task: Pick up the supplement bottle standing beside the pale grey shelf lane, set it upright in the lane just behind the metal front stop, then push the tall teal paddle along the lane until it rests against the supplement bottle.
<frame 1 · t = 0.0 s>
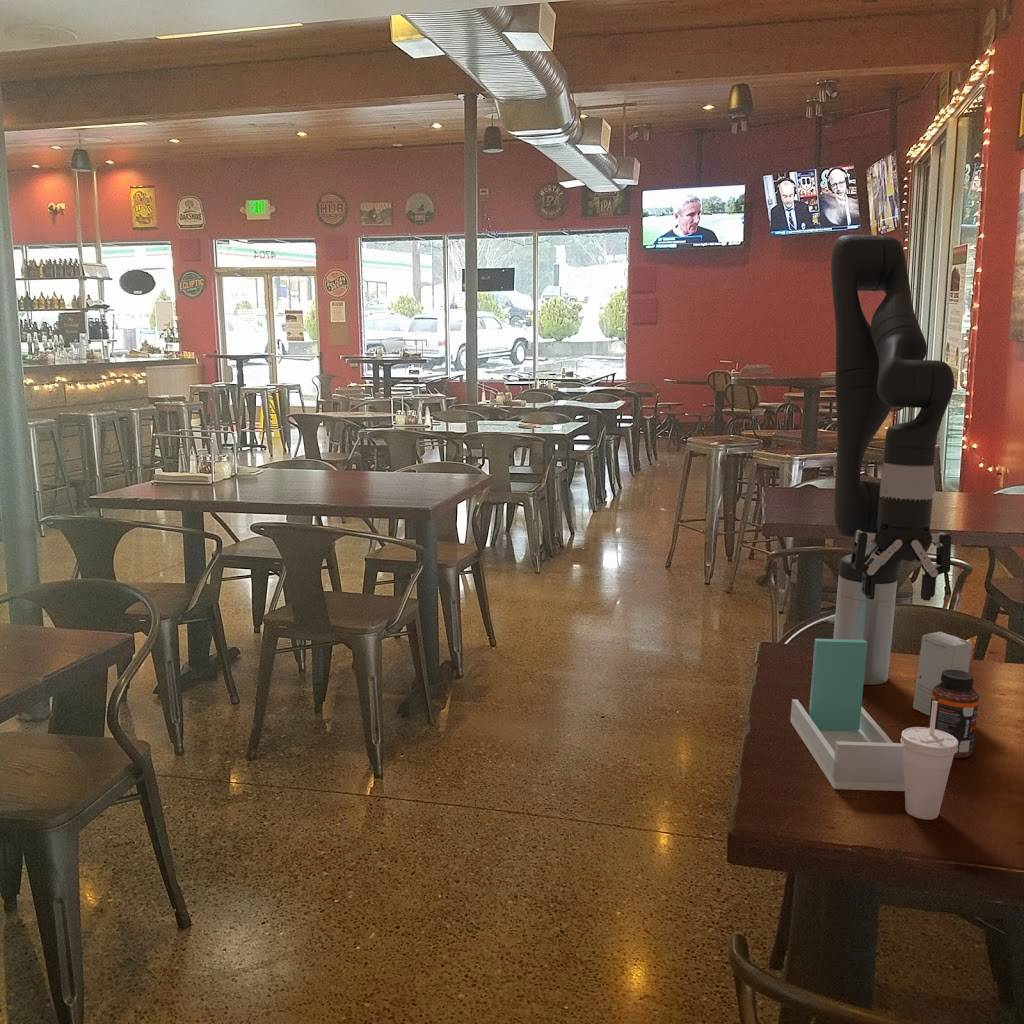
hand: (897, 599, 152), 17 cm above the table, tool pointing down, fingers open, 8 cm apart
supplement bottle: (949, 752, 139), on the table
lane: (845, 753, 137), on the table
smoothie: (921, 813, 121), on the table
pusher: (837, 684, 141), point 8 cm above the table, slide at 0.0 cm
skincare box: (937, 715, 152), on the table
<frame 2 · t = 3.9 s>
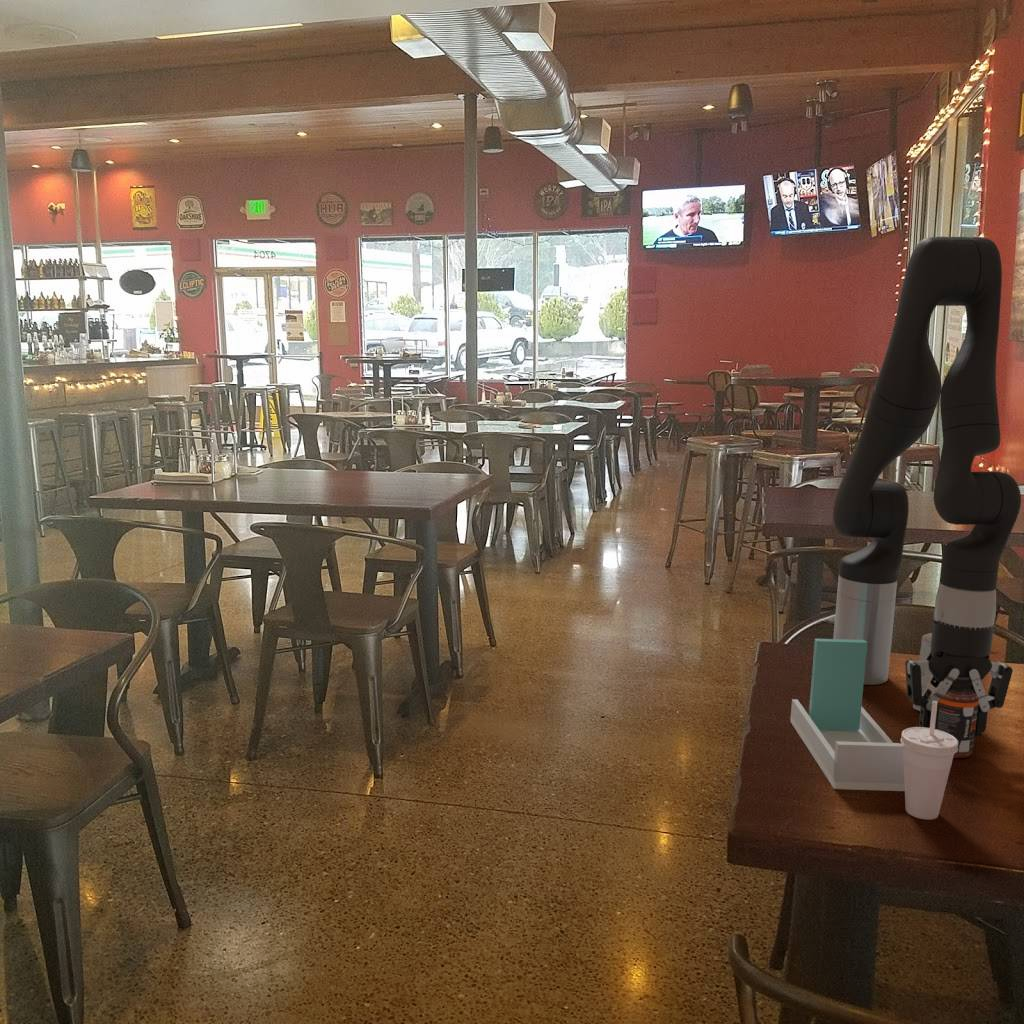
hand: (951, 733, 138), 3 cm above the table, tool pointing down, fingers closed on supplement bottle, 6 cm apart
supplement bottle: (949, 752, 139), on the table, touching gripper
everything else where it was.
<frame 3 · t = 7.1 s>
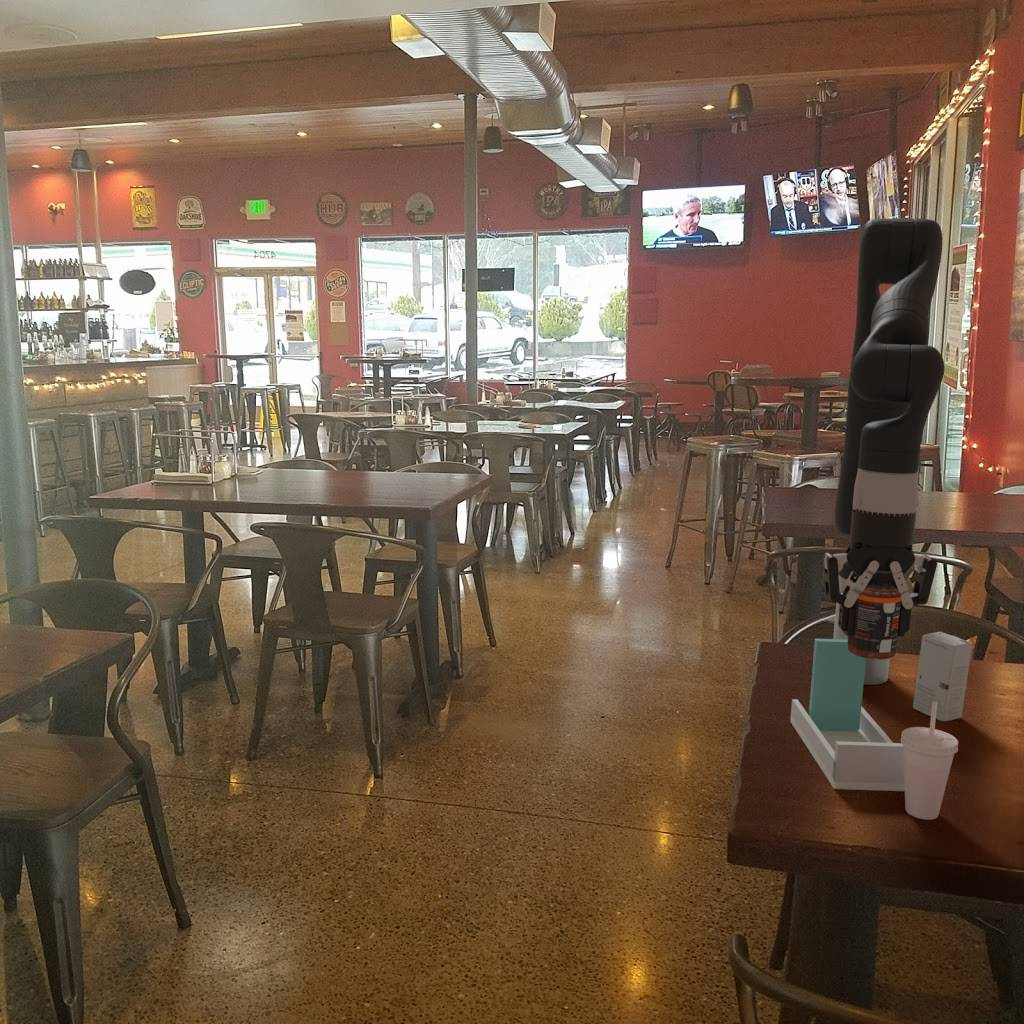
hand: (872, 633, 128), 19 cm above the table, tool pointing down, fingers closed on supplement bottle, 6 cm apart
supplement bottle: (870, 655, 128), point 16 cm above the table, touching gripper
everything else where it was.
when the fingers open (5 cm above the table, at t = 10.5 s): supplement bottle drops 1 cm, resting on lane.
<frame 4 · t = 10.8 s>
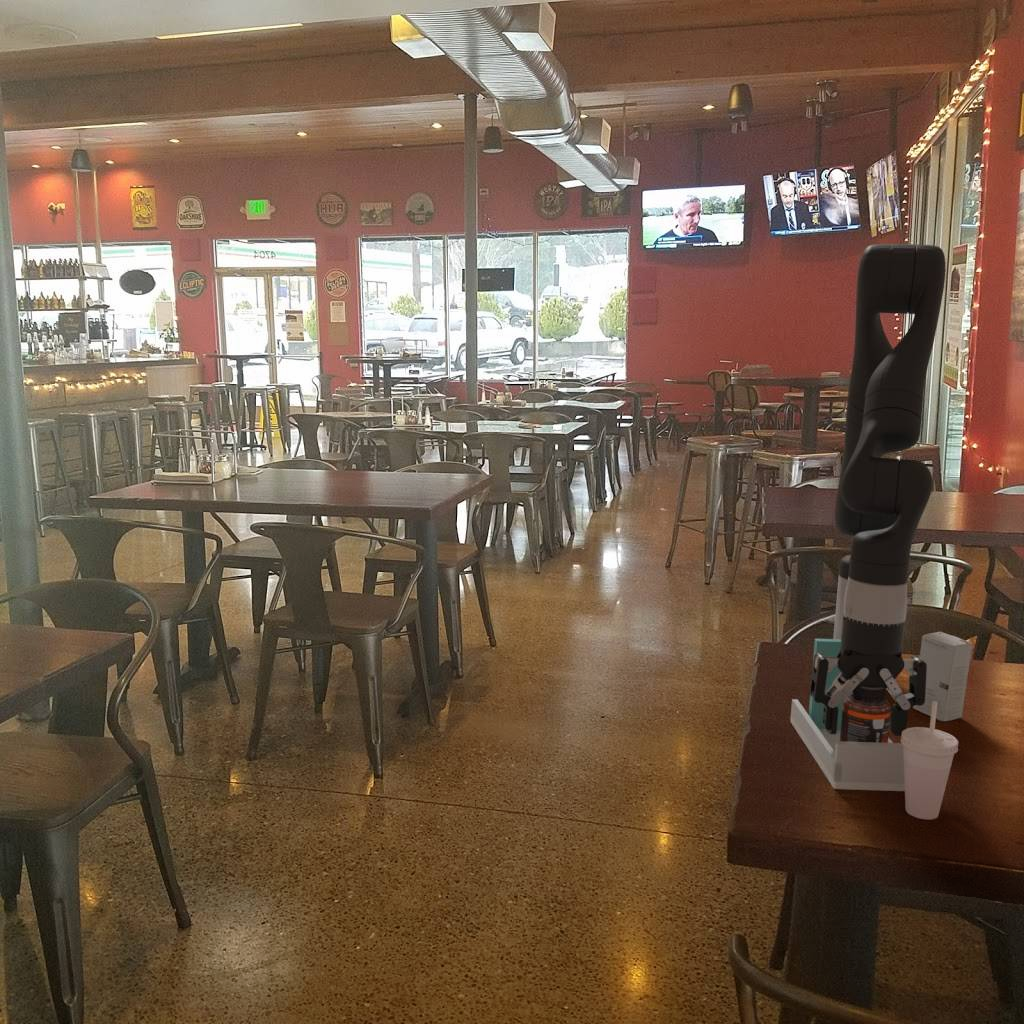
hand: (863, 733, 130), 6 cm above the table, tool pointing down, fingers open, 8 cm apart
supplement bottle: (861, 766, 131), point 1 cm above the table, touching lane
everything else where it was.
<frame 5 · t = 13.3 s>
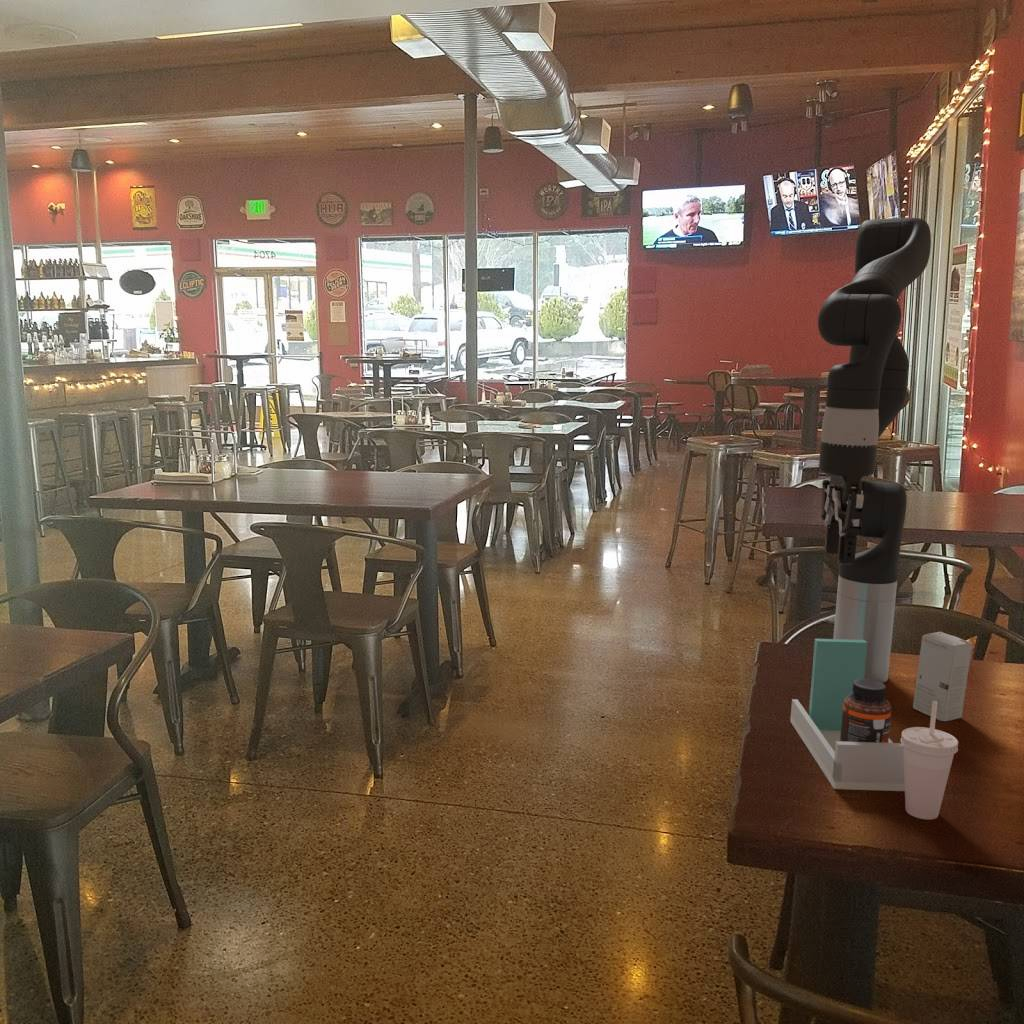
hand: (839, 557, 142), 25 cm above the table, tool pointing down, fingers open, 5 cm apart
nothing on the table moved.
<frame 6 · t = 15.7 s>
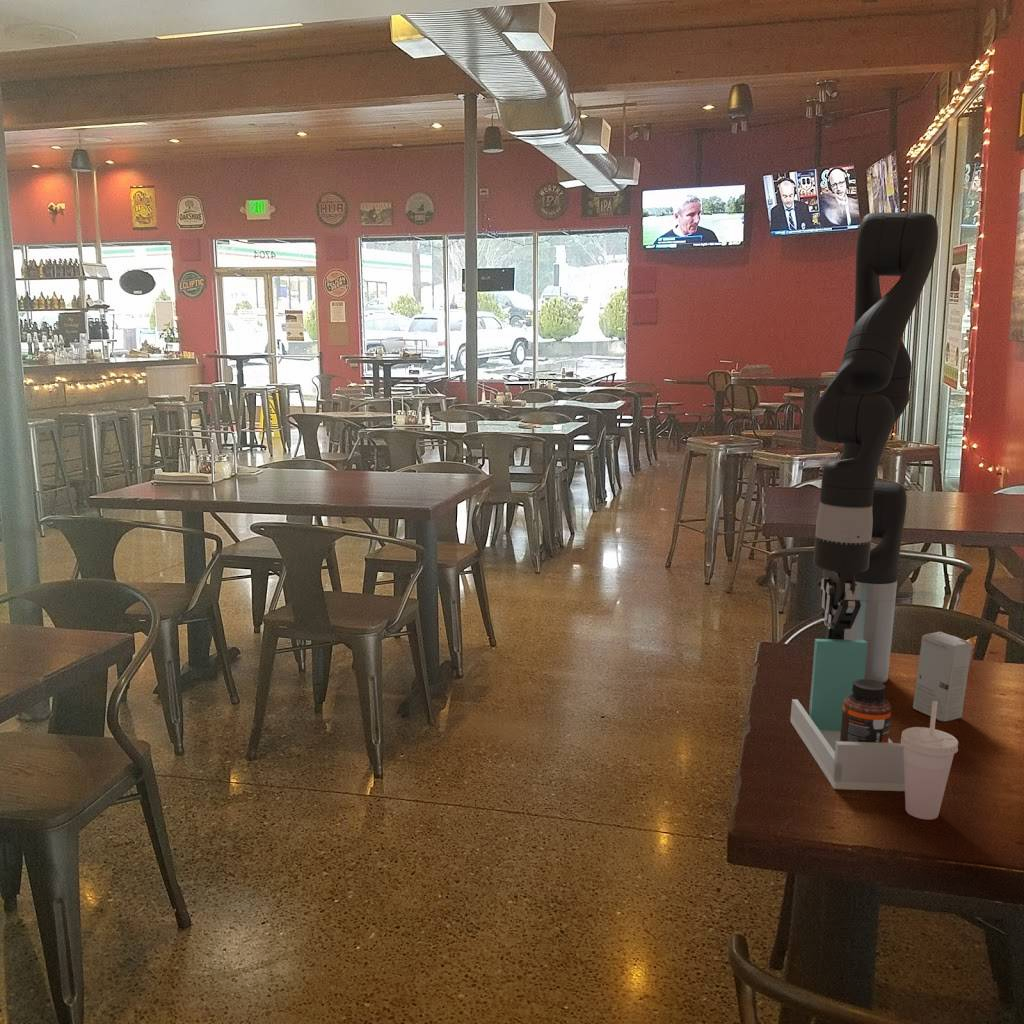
hand: (833, 652, 143), 12 cm above the table, tool pointing down, fingers closed
pusher: (837, 684, 141), point 8 cm above the table, slide at 0.1 cm, touching gripper
everything else where it was.
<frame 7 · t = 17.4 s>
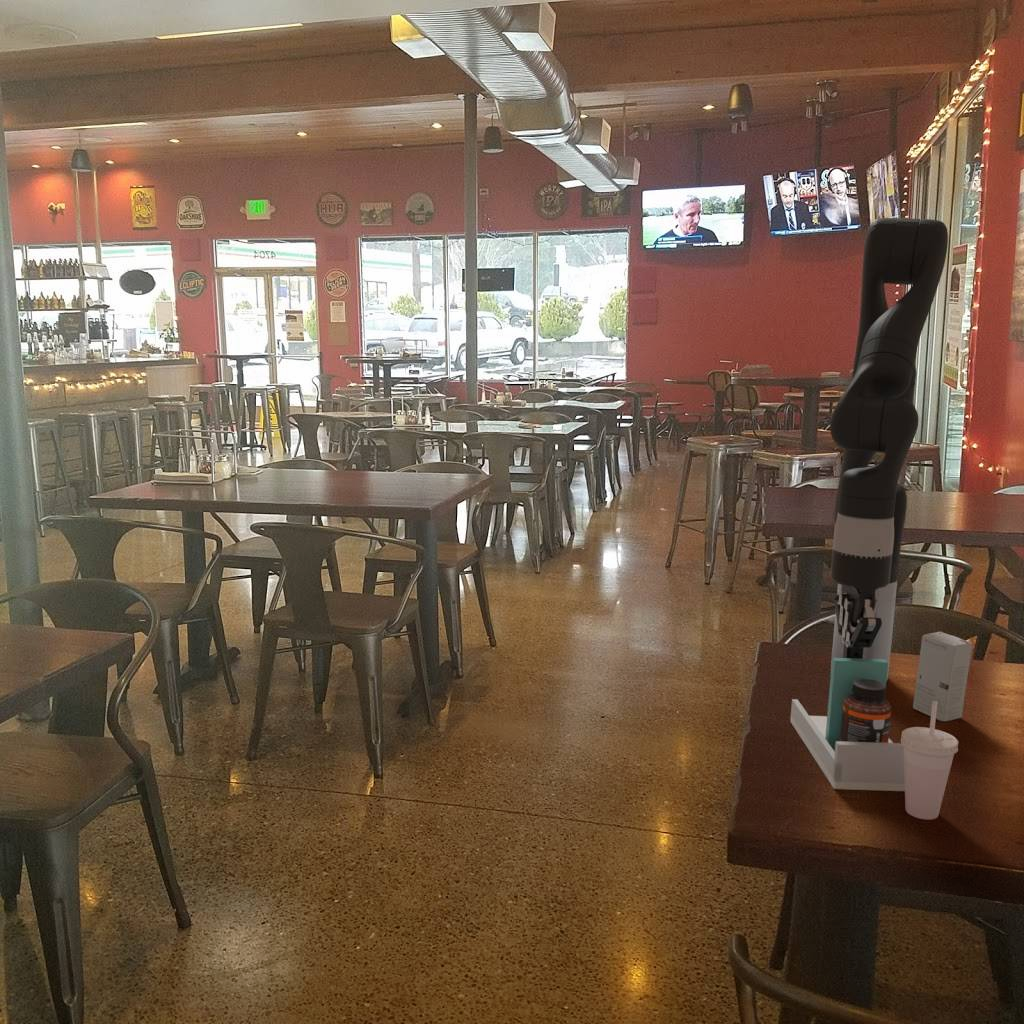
hand: (851, 672, 135), 12 cm above the table, tool pointing down, fingers closed
supplement bottle: (861, 766, 131), point 1 cm above the table, touching lane, pusher
pusher: (855, 706, 133), point 8 cm above the table, slide at 8.4 cm, touching supplement bottle, gripper
everything else where it was.
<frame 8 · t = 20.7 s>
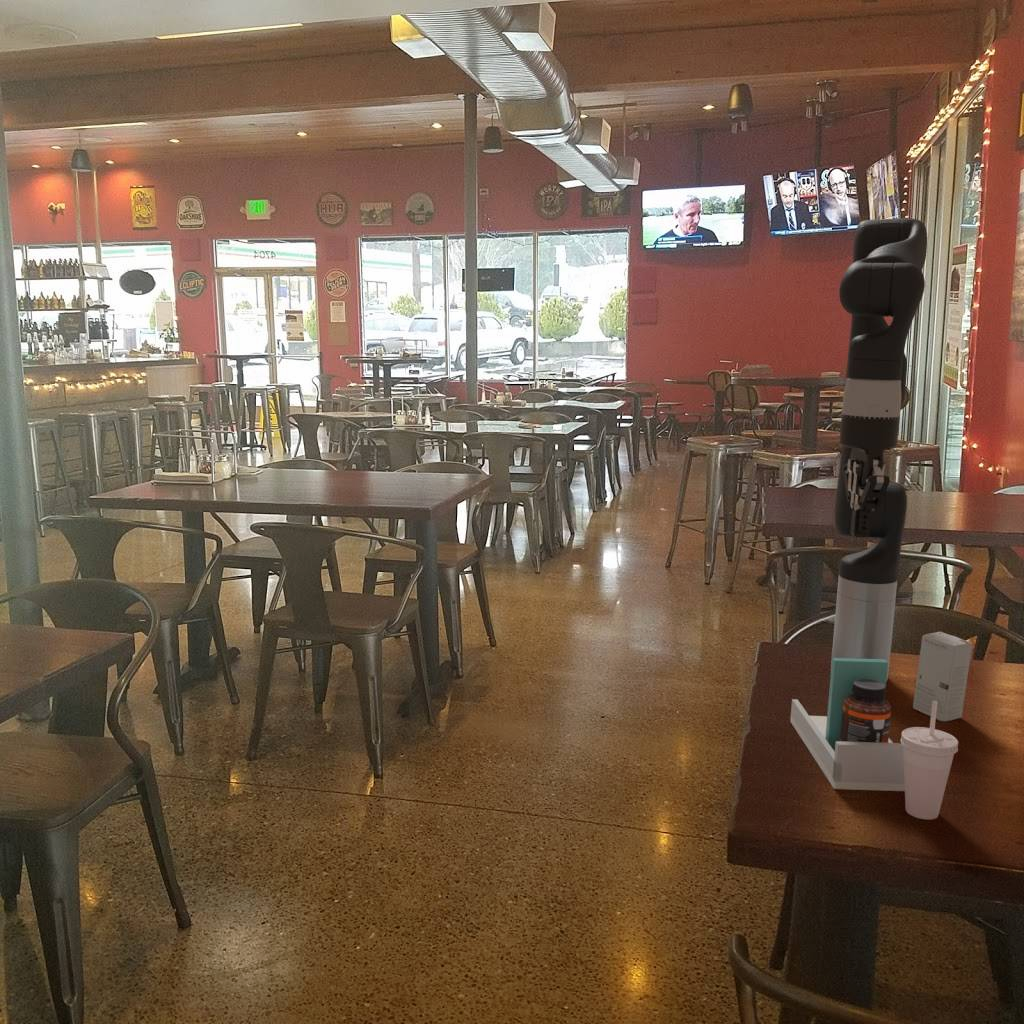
hand: (859, 536, 140), 29 cm above the table, tool pointing down, fingers closed
pusher: (855, 706, 133), point 8 cm above the table, slide at 8.4 cm, touching supplement bottle
everything else where it was.
at the end: supplement bottle inside the target area (0.2 cm from its centre), point 0.8 cm above the table; supplement bottle tilted 0°; pusher slide at 8.4 cm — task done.
